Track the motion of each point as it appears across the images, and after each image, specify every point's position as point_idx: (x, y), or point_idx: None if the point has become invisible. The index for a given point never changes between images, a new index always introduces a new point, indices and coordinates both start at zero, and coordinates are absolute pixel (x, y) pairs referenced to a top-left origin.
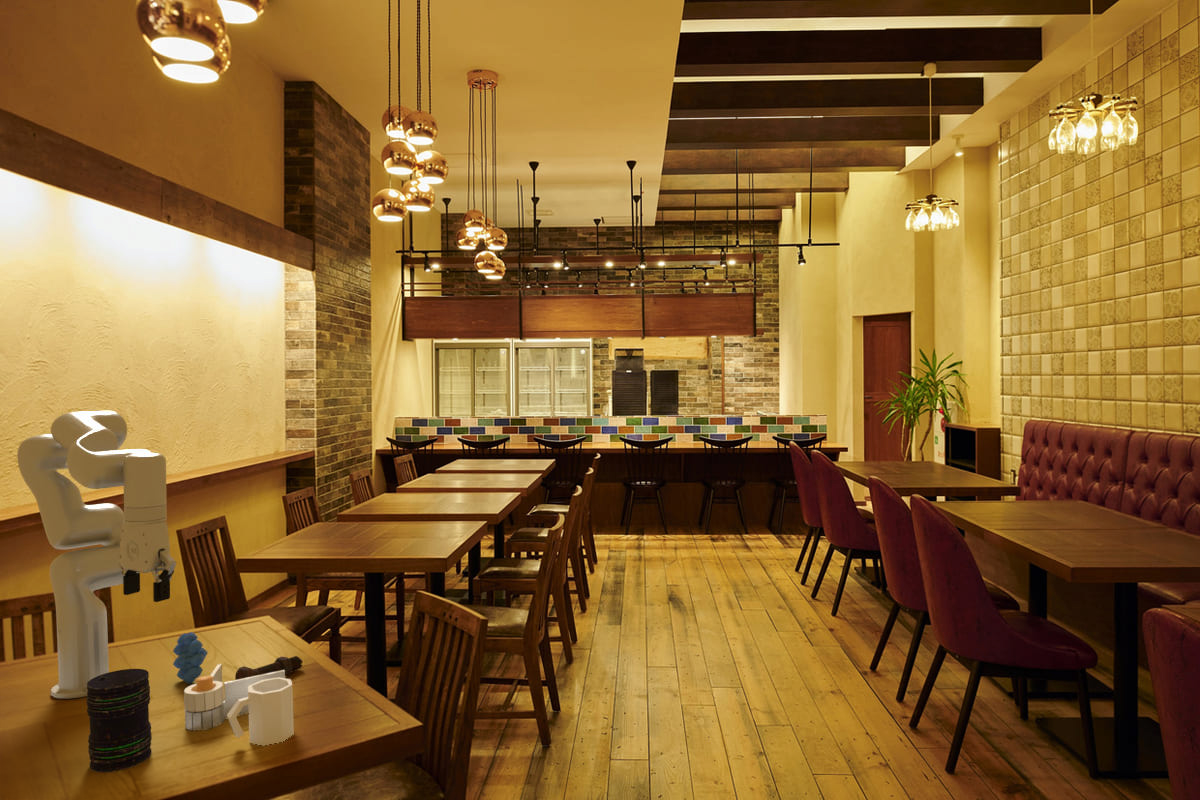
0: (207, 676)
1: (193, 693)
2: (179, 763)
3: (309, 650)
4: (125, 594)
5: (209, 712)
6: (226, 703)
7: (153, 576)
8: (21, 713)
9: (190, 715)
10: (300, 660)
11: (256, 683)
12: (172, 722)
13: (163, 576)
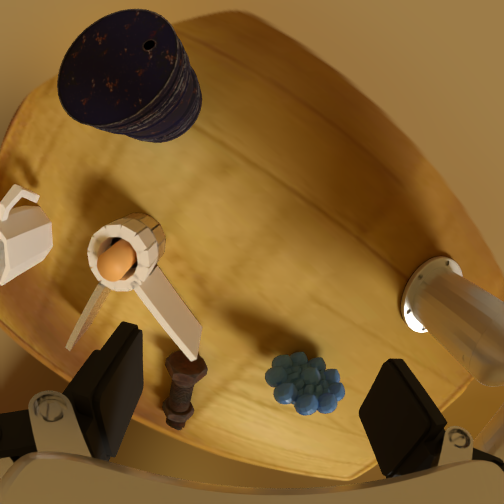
0: (114, 277)
1: (108, 228)
2: (75, 127)
3: (219, 454)
4: (389, 359)
5: None
6: None
7: (80, 439)
8: (449, 205)
9: (129, 217)
10: (167, 423)
11: (6, 254)
12: (193, 230)
13: (11, 421)
